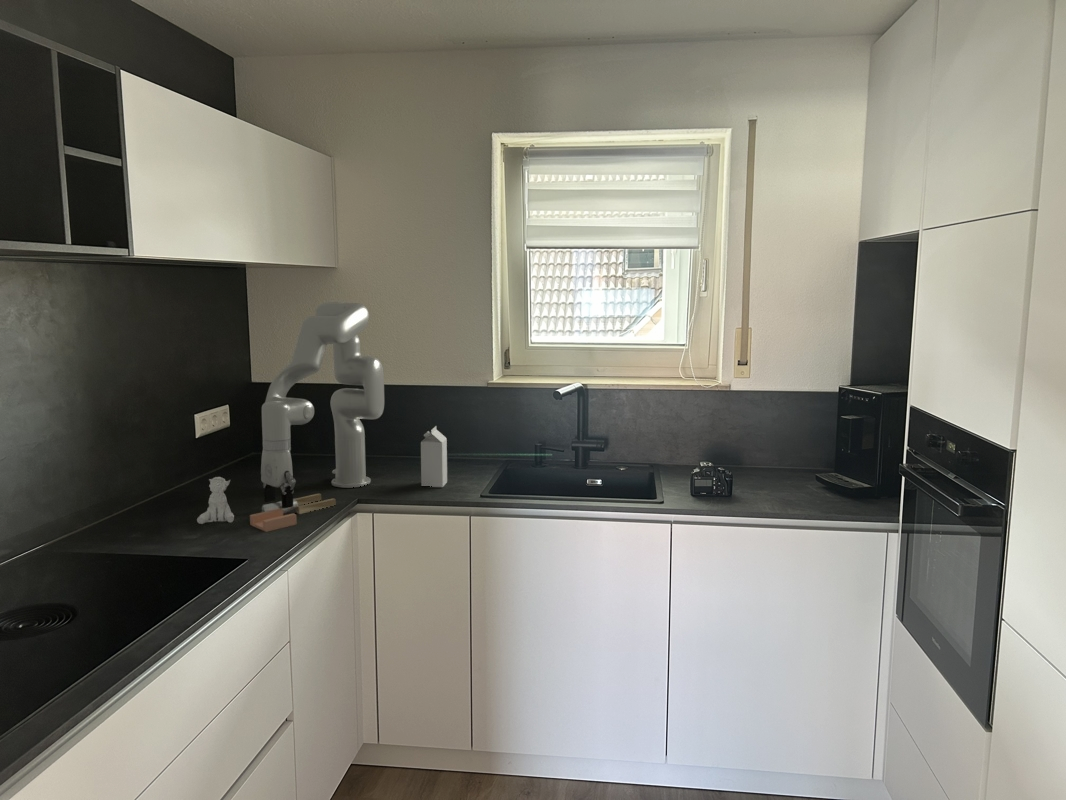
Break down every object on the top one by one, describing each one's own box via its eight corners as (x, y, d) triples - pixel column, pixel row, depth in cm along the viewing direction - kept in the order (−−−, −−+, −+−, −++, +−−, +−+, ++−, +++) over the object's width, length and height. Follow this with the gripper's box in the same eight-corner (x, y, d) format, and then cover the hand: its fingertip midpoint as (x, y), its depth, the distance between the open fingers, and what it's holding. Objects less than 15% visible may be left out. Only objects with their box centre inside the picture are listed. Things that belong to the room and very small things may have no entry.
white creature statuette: (196, 524, 210) (194, 482, 208) (203, 515, 218) (200, 474, 217) (233, 522, 212) (231, 480, 210) (238, 513, 220) (236, 473, 219)
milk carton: (447, 482, 256) (446, 426, 254) (442, 487, 249) (442, 430, 247) (426, 481, 257) (425, 425, 254) (421, 487, 250) (420, 429, 247)
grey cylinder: (266, 521, 216) (269, 512, 214) (260, 511, 218) (263, 502, 216) (295, 515, 222) (299, 505, 220) (289, 505, 224) (293, 495, 222)
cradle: (250, 525, 210) (249, 515, 209) (280, 517, 216) (280, 508, 216) (266, 531, 204) (265, 521, 204) (296, 524, 211) (296, 514, 210)
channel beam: (283, 507, 226) (282, 501, 226) (319, 499, 235) (318, 493, 234) (299, 514, 220) (299, 507, 220) (335, 505, 229) (335, 499, 228)
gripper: (249, 442, 220) (251, 501, 223) (280, 451, 209) (282, 512, 211) (273, 439, 226) (275, 496, 228) (305, 447, 214) (306, 507, 216)
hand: (278, 504), depth 219 cm, fingers open, 9 cm apart
